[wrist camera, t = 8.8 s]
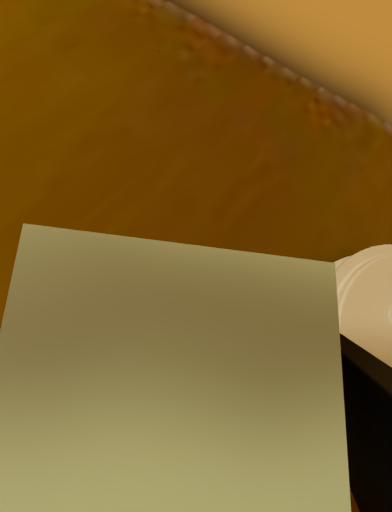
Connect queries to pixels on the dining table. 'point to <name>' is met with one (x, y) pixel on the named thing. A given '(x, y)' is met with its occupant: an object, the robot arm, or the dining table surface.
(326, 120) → the dining table surface
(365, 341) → the lid
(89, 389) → the pillar block
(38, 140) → the dining table surface
